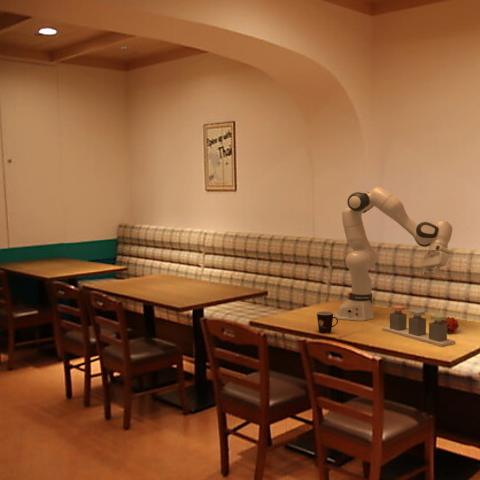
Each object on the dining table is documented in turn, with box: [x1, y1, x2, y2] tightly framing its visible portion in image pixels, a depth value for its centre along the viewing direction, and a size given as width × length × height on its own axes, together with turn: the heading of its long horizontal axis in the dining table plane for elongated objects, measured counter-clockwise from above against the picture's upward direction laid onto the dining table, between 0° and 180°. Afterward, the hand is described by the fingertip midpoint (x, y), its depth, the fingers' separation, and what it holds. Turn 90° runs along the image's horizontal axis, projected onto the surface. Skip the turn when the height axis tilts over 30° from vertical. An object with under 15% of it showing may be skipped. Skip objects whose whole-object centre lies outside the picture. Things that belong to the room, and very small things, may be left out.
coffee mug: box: [316, 310, 339, 334], centre depth 321 cm, size 12×9×10 cm
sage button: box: [430, 314, 447, 325], centre depth 299 cm, size 5×5×5 cm
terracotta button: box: [390, 304, 406, 315], centre depth 320 cm, size 5×5×5 cm
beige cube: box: [409, 309, 426, 319], centre depth 309 cm, size 5×5×5 cm
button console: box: [381, 312, 456, 348], centre depth 310 cm, size 38×10×10 cm, turn 33°
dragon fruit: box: [442, 316, 460, 334], centre depth 318 cm, size 8×8×12 cm
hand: (429, 275), depth 321 cm, fingers open, 8 cm apart
